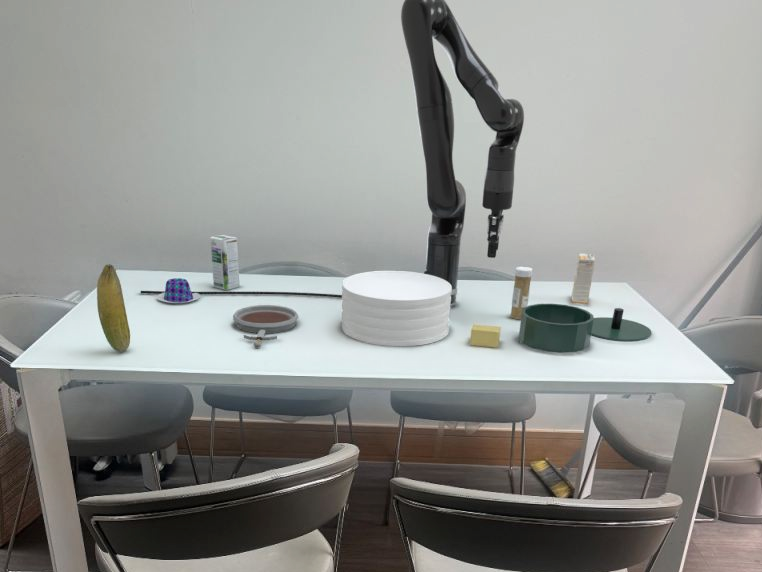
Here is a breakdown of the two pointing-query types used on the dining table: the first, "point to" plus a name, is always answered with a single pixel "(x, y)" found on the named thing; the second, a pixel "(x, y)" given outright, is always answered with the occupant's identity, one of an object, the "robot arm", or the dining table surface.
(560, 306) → the pot
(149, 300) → the dining table surface
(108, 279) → the vegetable
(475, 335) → the butter
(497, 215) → the robot arm
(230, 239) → the syrup box
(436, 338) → the plate stack
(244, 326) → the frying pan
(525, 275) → the sprinkles bottle
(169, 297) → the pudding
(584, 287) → the supplement box
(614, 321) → the pot lid
